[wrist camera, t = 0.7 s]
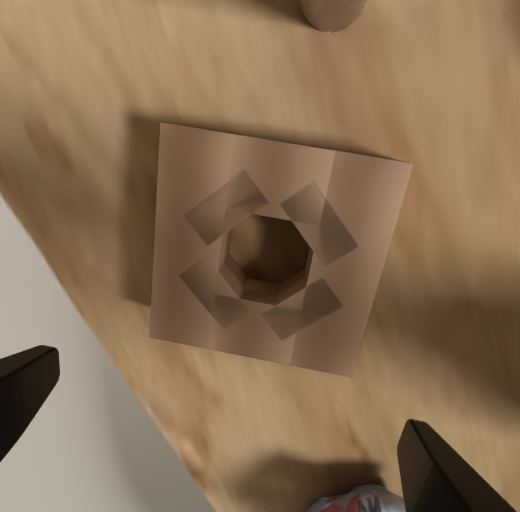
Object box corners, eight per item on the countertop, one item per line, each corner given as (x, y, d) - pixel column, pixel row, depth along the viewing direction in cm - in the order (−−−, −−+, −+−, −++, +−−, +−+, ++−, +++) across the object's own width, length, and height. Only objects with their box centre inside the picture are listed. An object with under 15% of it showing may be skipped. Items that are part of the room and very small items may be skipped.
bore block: (396, 159, 19) (413, 163, 16) (345, 347, 23) (351, 377, 20) (180, 125, 19) (160, 122, 16) (167, 313, 23) (149, 337, 20)
